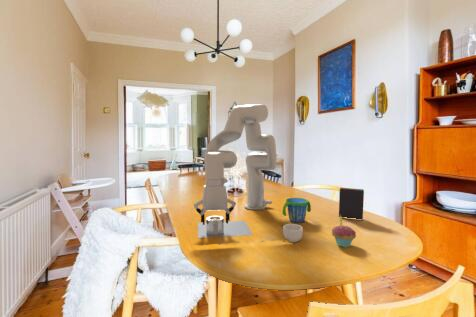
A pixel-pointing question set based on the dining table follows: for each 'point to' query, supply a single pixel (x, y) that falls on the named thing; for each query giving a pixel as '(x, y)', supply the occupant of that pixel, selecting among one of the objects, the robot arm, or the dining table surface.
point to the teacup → (292, 232)
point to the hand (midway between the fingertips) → (215, 223)
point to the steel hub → (215, 225)
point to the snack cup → (296, 209)
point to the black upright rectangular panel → (351, 203)
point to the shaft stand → (226, 229)
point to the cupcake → (343, 234)
